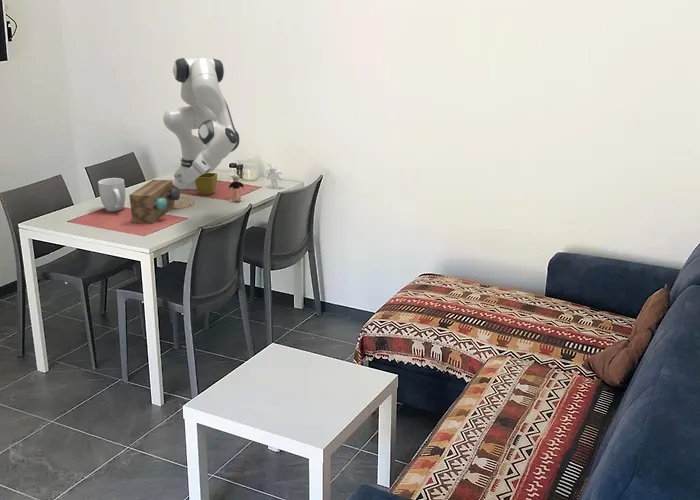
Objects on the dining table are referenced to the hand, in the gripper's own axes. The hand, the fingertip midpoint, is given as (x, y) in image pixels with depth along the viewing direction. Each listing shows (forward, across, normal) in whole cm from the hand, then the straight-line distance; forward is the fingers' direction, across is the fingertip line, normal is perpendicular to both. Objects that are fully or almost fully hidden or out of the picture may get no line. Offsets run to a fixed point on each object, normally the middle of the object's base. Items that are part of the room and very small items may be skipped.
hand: (186, 183), depth 313 cm
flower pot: (+16, -42, +7) cm, 46 cm away
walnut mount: (+24, -8, -1) cm, 25 cm away
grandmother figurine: (+3, -31, +20) cm, 37 cm away
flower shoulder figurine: (-5, -55, +28) cm, 62 cm away
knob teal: (+18, 0, -2) cm, 18 cm away
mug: (+39, -11, -16) cm, 43 cm away
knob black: (+18, -15, -2) cm, 24 cm away
